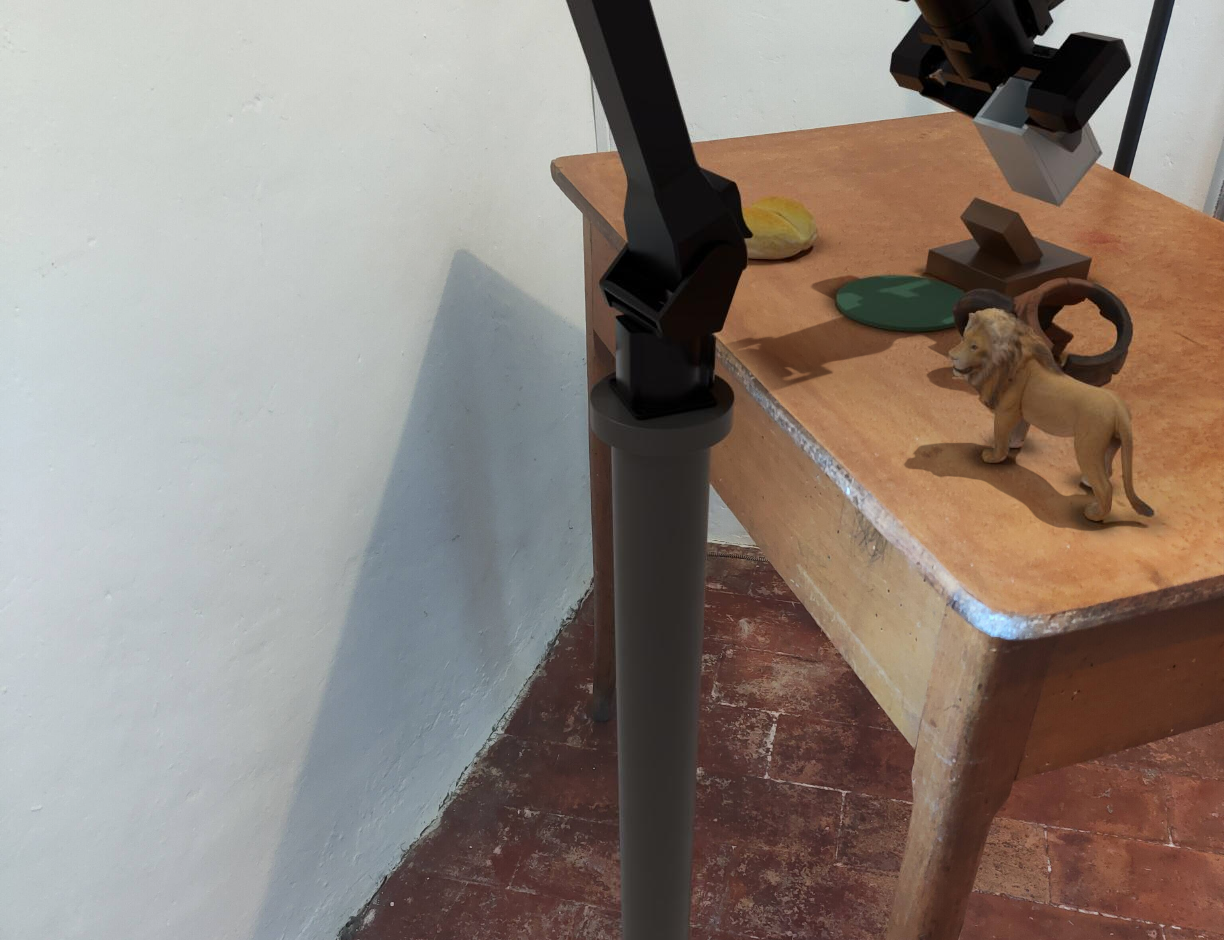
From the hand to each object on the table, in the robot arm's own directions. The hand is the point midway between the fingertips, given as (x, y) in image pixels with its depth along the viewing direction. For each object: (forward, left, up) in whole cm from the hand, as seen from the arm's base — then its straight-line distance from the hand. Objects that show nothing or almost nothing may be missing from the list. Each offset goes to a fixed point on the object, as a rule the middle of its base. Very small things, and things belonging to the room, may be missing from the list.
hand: (1038, 136), depth 85 cm
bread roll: (-16, +15, -12) cm, 25 cm away
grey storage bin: (0, 0, -5) cm, 5 cm away
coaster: (-12, -2, -11) cm, 17 cm away
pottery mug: (-11, -17, -12) cm, 23 cm away
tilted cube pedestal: (0, 0, -11) cm, 11 cm away
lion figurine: (-19, -28, -12) cm, 36 cm away
